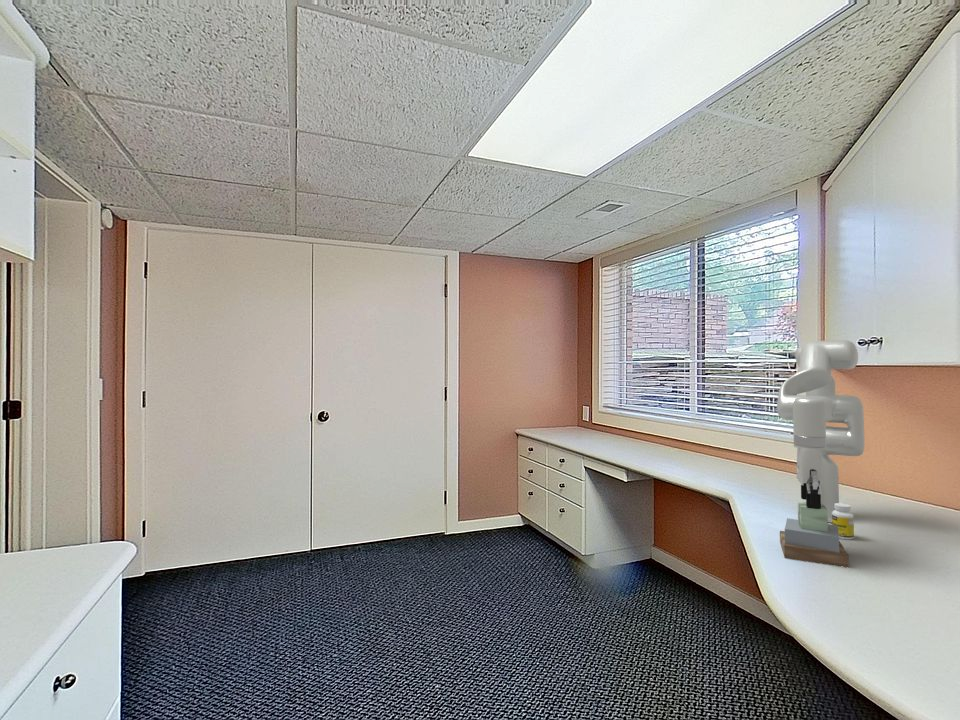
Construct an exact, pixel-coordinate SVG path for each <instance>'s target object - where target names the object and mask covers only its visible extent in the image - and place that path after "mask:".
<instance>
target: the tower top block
mask: <svg viewBox="0 0 960 720" xmlns="http://www.w3.org/2000/svg"><path fill="white" fill-rule="evenodd" d="M784 531H785V544H790V545H796V546H802V547H808V548H814V549H820V550H825V551H831V552H837V553H839V541H840V538H839V532H838V525H832V523H830V524H829V523H828V532H824V531H816V530H807V529H801V527H800V525H799V523H798V519H796V518H788V517H787V519H786V521H785V526H784Z"/></svg>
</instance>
